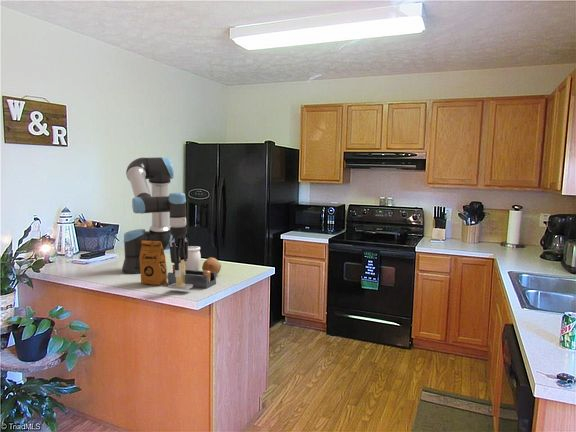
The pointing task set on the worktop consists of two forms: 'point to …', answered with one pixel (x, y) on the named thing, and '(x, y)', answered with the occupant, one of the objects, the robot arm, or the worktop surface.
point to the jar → (193, 258)
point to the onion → (212, 265)
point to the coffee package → (152, 263)
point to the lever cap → (181, 279)
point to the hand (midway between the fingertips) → (180, 275)
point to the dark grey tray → (195, 278)
